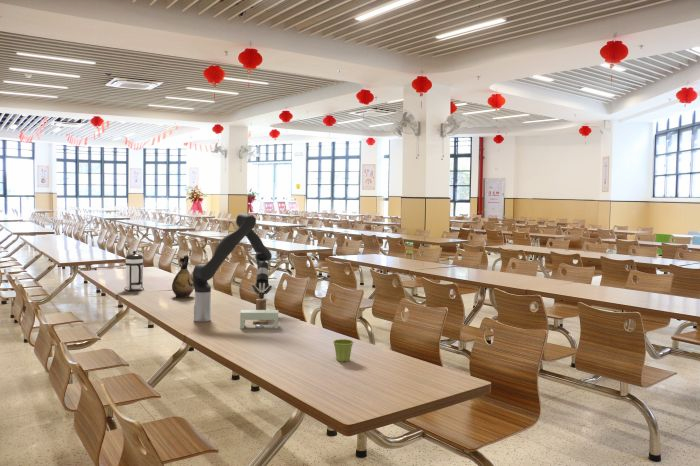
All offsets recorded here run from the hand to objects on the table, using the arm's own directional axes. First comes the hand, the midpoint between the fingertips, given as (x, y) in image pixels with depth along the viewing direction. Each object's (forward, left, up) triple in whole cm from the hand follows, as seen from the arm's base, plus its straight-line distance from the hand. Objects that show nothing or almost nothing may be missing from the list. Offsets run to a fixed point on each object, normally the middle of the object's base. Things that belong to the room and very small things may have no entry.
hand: (261, 298), depth 354 cm
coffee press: (-98, +90, -11) cm, 133 cm away
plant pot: (+41, -96, -11) cm, 105 cm away
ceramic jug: (-58, +64, -11) cm, 87 cm away
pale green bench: (0, -30, -11) cm, 32 cm away
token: (0, -29, -11) cm, 31 cm away
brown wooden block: (0, -15, -11) cm, 19 cm away
